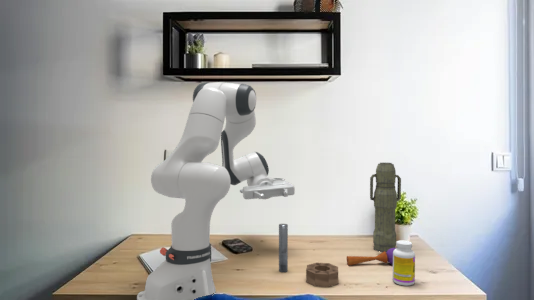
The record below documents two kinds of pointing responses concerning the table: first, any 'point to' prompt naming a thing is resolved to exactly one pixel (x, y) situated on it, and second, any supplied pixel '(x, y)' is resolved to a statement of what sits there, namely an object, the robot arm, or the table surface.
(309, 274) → the bead
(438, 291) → the table surface
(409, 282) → the supplement bottle
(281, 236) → the grey metal peg
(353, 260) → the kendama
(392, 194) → the thermos
